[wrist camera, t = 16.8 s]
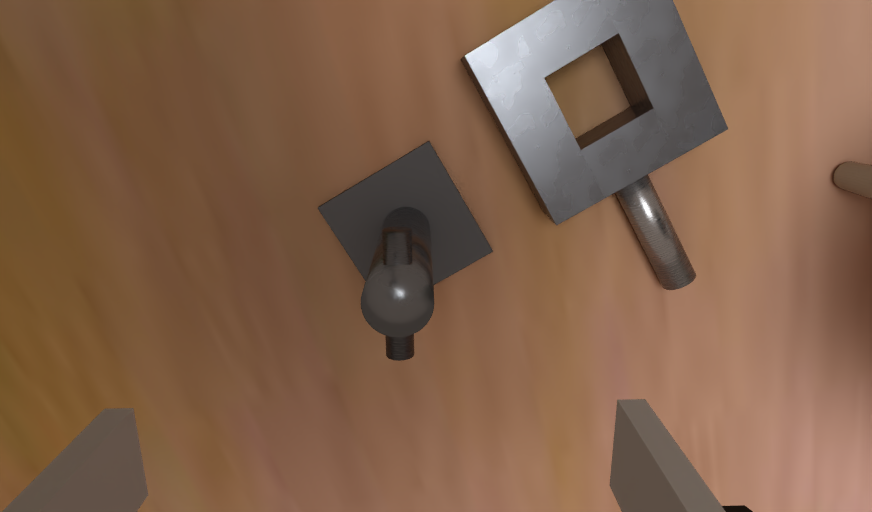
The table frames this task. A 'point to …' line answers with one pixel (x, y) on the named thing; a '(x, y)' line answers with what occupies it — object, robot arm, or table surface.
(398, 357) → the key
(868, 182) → the planter
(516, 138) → the block
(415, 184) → the mat
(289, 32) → the table surface
